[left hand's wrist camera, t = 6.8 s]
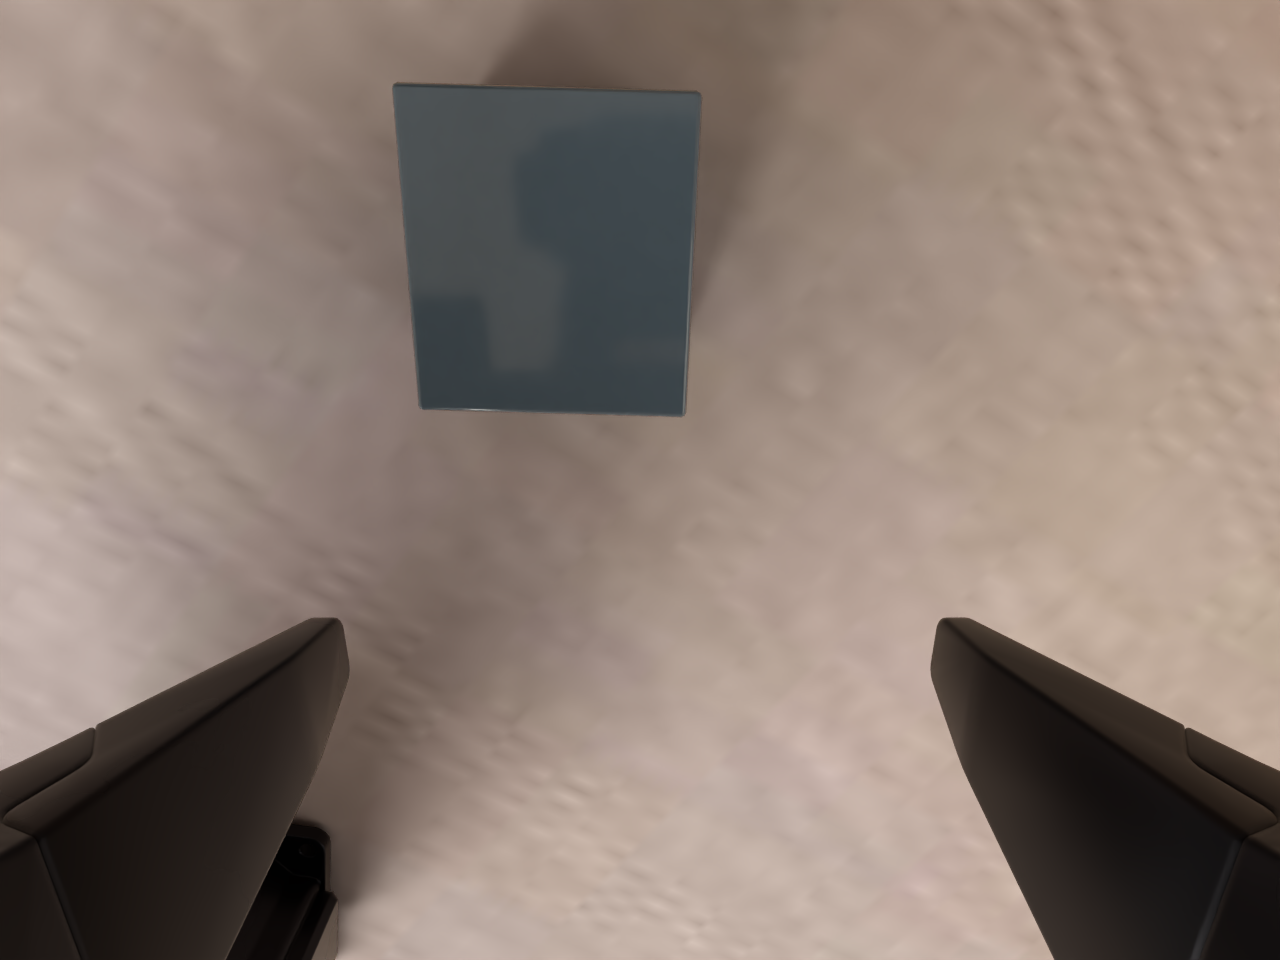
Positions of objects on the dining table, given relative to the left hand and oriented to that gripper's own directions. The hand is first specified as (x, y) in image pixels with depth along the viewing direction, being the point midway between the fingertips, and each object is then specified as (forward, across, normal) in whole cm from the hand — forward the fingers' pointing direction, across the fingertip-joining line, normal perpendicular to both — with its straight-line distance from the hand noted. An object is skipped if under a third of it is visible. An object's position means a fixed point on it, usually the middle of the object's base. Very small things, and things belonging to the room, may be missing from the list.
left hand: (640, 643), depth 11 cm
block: (+8, +1, -5) cm, 9 cm away
